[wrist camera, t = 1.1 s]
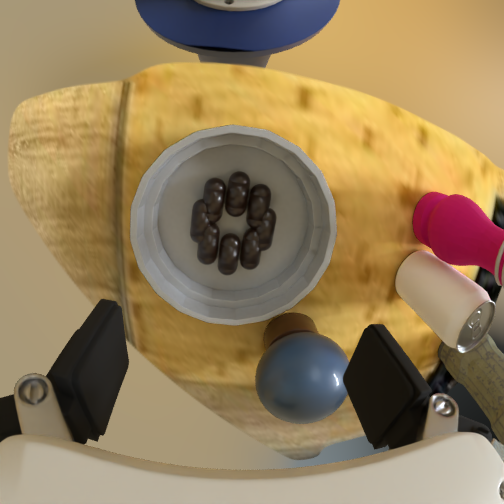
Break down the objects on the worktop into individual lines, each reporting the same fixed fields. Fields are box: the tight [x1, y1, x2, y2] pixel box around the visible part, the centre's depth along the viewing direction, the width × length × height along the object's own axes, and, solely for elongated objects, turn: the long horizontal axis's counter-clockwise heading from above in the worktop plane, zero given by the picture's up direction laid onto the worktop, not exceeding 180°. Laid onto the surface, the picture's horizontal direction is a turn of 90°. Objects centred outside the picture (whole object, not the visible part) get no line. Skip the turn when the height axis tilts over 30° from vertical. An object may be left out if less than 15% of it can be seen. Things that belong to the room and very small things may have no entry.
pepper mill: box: [413, 192, 504, 287], centre depth 17 cm, size 7×7×20 cm
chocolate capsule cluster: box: [190, 171, 277, 276], centre depth 23 cm, size 9×7×2 cm
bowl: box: [130, 125, 337, 326], centre depth 23 cm, size 16×16×4 cm
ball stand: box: [255, 313, 349, 424], centre depth 24 cm, size 9×9×12 cm
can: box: [395, 250, 496, 353], centre depth 23 cm, size 6×6×12 cm
